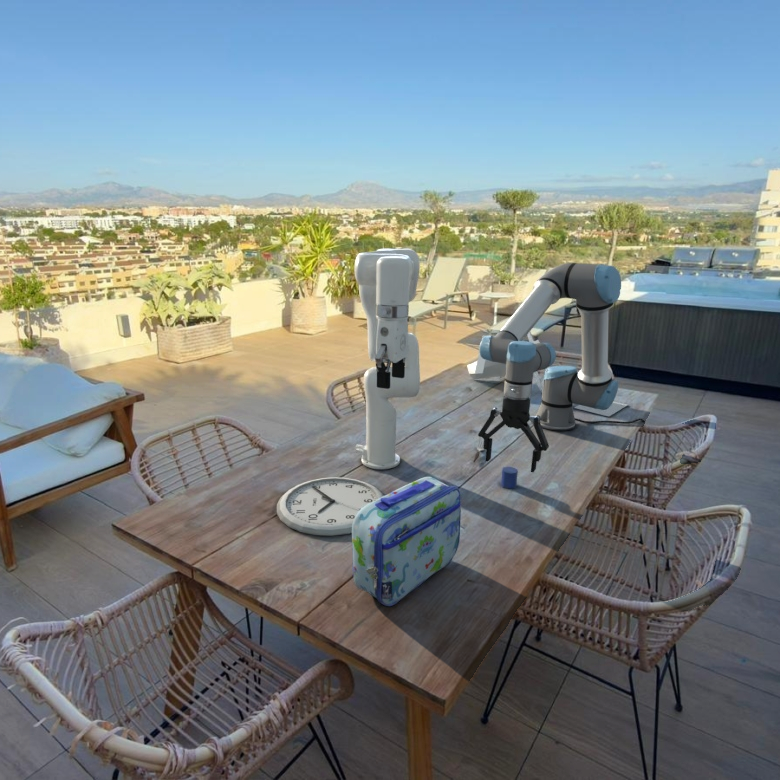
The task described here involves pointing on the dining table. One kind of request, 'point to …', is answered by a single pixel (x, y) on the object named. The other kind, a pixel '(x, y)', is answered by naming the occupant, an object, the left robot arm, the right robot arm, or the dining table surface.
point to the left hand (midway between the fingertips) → (391, 382)
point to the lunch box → (405, 538)
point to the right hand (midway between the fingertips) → (510, 465)
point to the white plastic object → (495, 367)
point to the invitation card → (608, 412)
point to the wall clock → (325, 505)
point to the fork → (478, 451)
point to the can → (509, 477)
